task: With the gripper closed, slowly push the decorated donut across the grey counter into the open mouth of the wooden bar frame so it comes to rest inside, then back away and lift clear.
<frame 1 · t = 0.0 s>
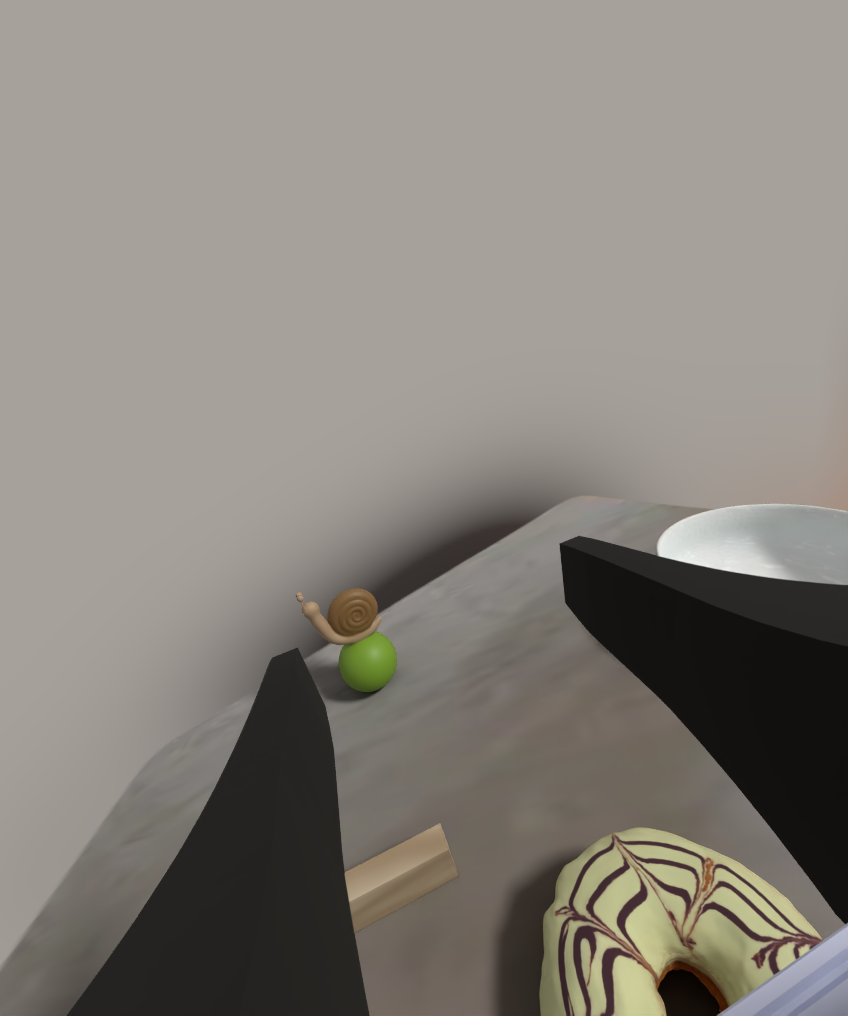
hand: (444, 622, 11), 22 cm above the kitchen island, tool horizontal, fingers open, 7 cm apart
cereal bowl: (772, 618, 36), on the kitchen island
snail figurine: (372, 686, 41), on the kitchen island
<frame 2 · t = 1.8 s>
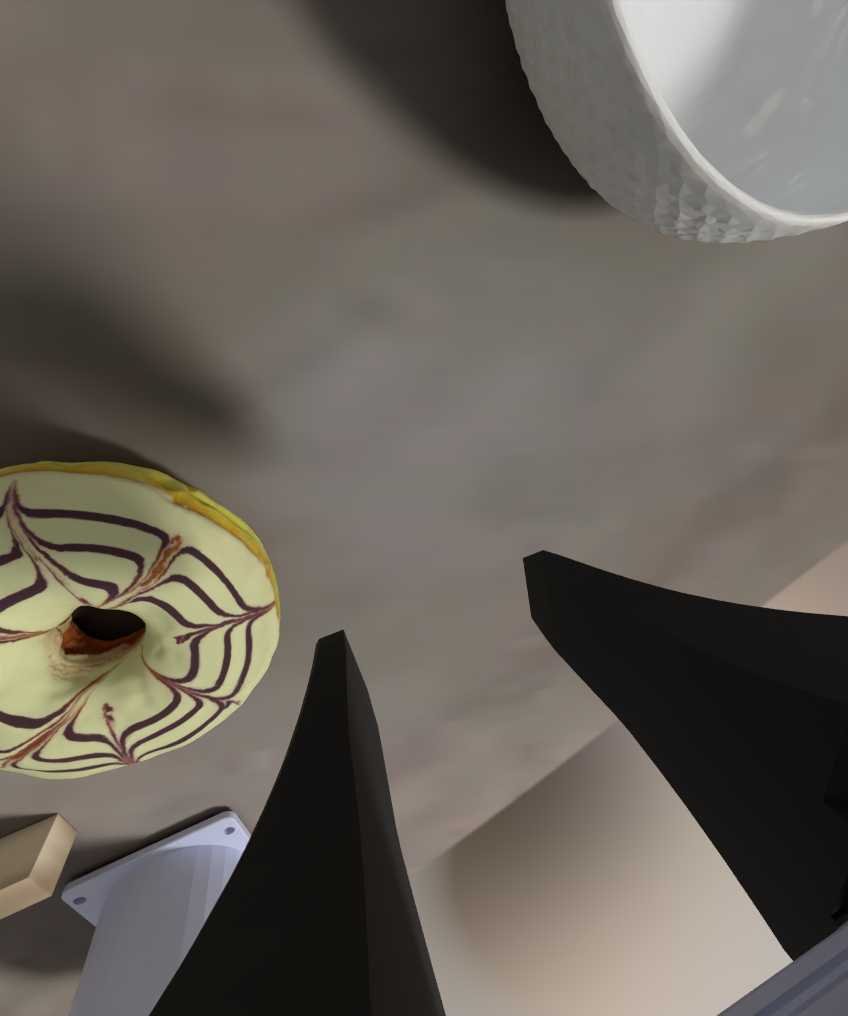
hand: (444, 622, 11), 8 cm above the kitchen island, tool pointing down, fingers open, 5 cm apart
decorated donut: (122, 590, 17), on the kitchen island
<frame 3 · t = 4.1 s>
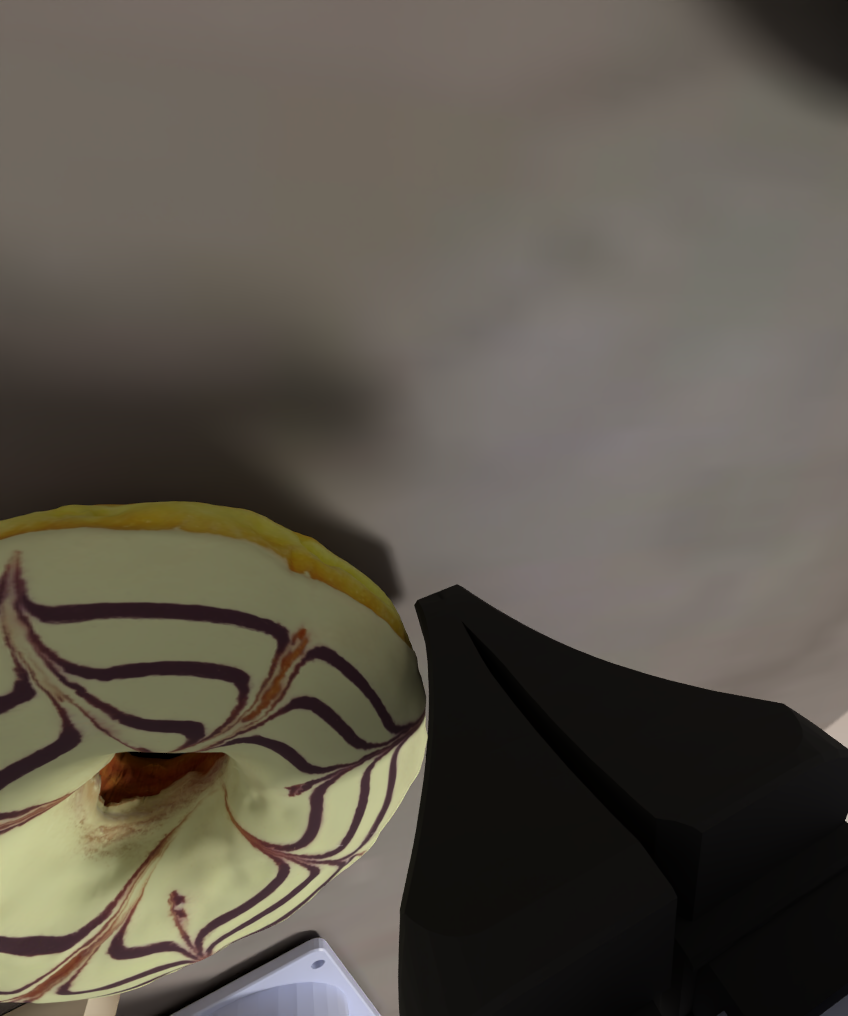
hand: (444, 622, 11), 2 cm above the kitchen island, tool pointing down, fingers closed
decorated donut: (180, 680, 11), on the kitchen island, touching gripper
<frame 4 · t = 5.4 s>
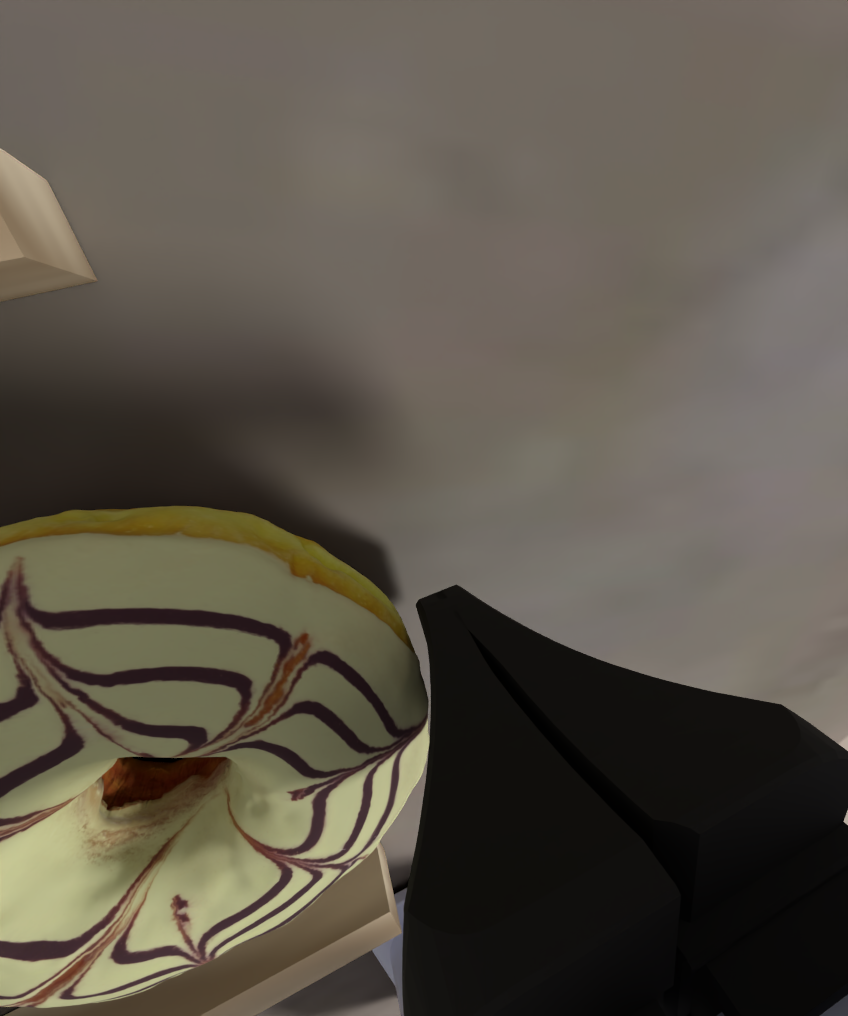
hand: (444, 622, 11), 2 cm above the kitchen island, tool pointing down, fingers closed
decorated donut: (182, 684, 11), on the kitchen island, touching gripper
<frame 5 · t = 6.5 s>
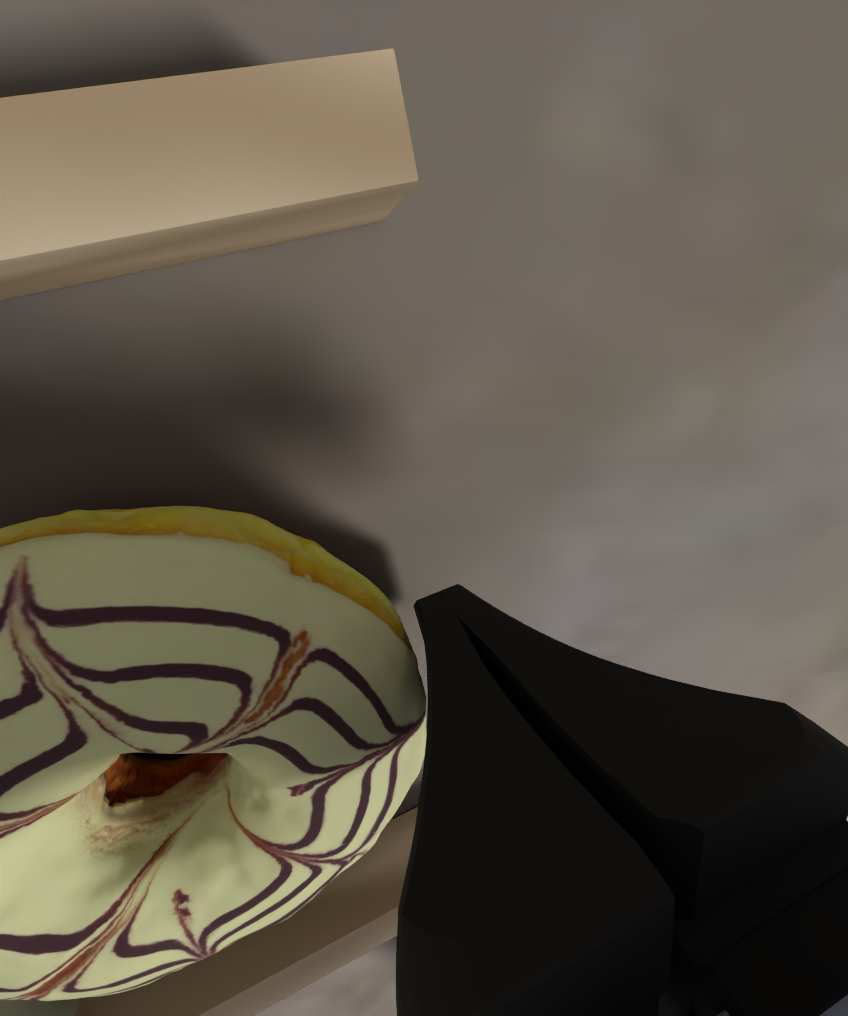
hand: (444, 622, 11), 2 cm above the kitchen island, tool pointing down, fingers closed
decorated donut: (183, 682, 11), on the kitchen island, touching gripper
wooden bar frame: (222, 670, 11), on the kitchen island
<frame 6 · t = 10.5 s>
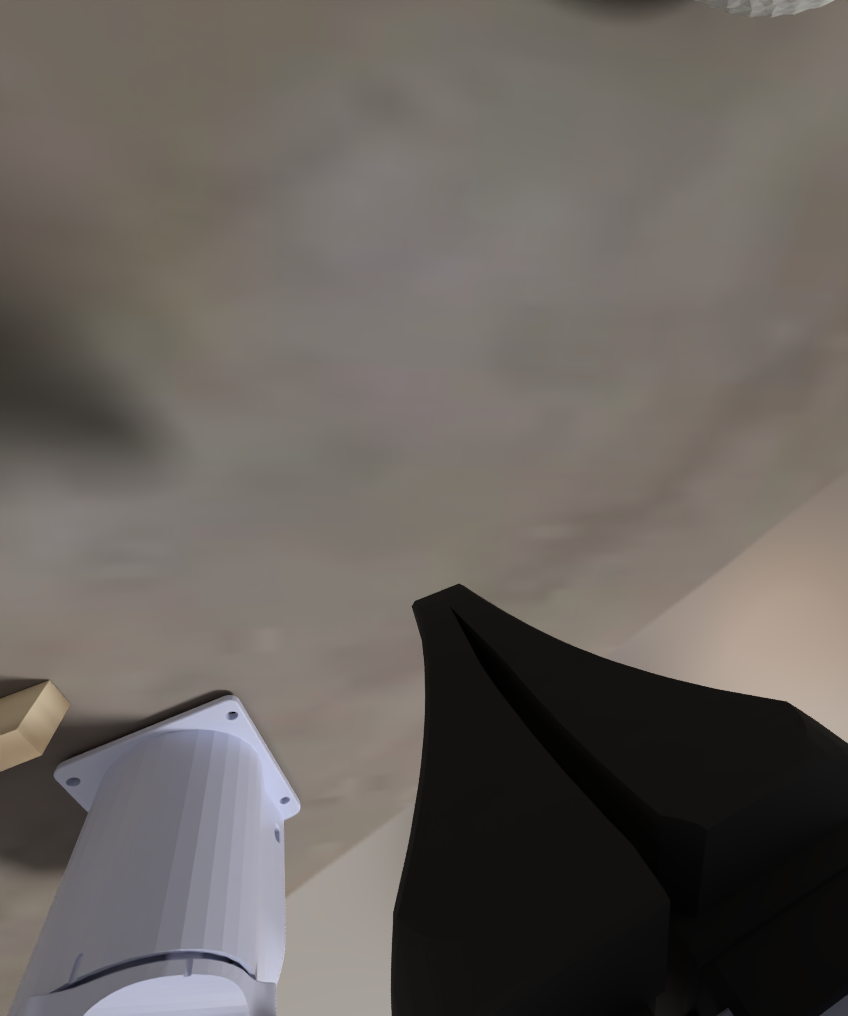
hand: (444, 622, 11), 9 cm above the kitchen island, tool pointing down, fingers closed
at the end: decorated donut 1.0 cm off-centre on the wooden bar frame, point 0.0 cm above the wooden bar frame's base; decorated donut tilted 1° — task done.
